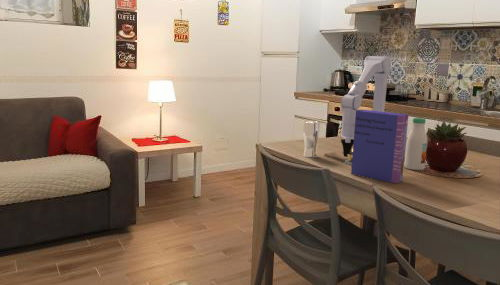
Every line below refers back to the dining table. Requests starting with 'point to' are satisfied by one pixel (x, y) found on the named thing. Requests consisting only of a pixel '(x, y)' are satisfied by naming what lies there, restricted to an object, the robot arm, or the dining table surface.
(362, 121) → the purple book
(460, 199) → the dining table surface
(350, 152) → the swing bar
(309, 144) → the beer glass
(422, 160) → the milk bottle
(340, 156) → the door and jamb
